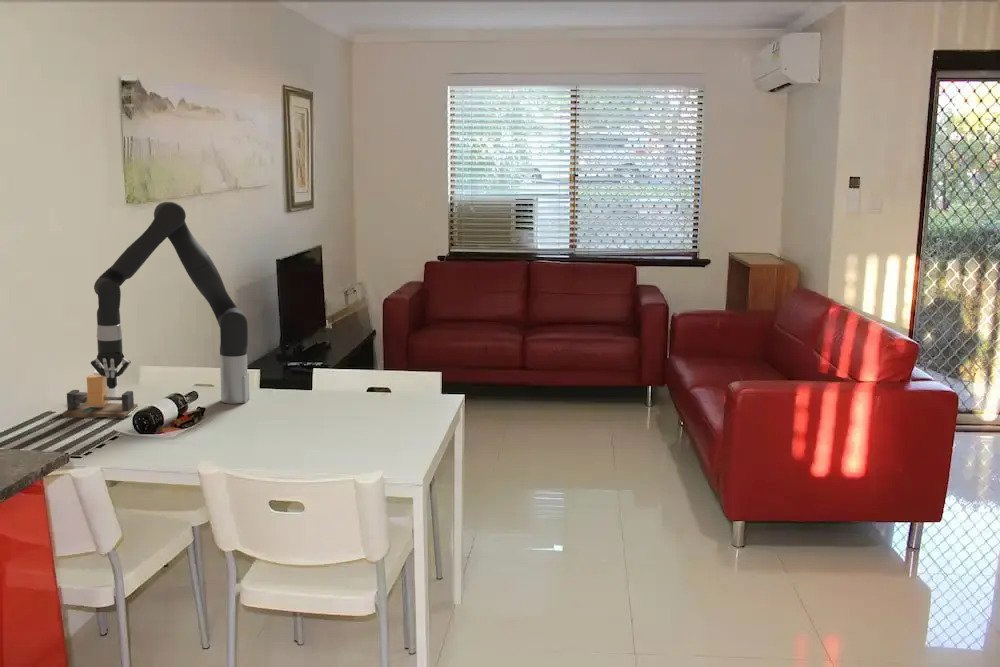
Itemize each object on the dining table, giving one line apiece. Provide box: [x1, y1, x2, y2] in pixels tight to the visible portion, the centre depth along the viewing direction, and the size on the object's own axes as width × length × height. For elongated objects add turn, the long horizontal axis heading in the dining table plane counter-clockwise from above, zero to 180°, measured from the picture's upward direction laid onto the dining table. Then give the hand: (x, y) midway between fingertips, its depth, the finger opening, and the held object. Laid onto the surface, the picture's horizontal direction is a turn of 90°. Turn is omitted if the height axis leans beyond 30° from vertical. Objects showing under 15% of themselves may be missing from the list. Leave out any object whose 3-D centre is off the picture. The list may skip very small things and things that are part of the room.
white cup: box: [93, 369, 119, 397], centre depth 320 cm, size 8×8×10 cm
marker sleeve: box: [86, 374, 109, 406], centre depth 302 cm, size 5×4×10 cm
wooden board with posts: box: [62, 389, 139, 418], centre depth 303 cm, size 20×12×7 cm, turn 92°
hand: (112, 388), depth 302 cm, fingers closed
